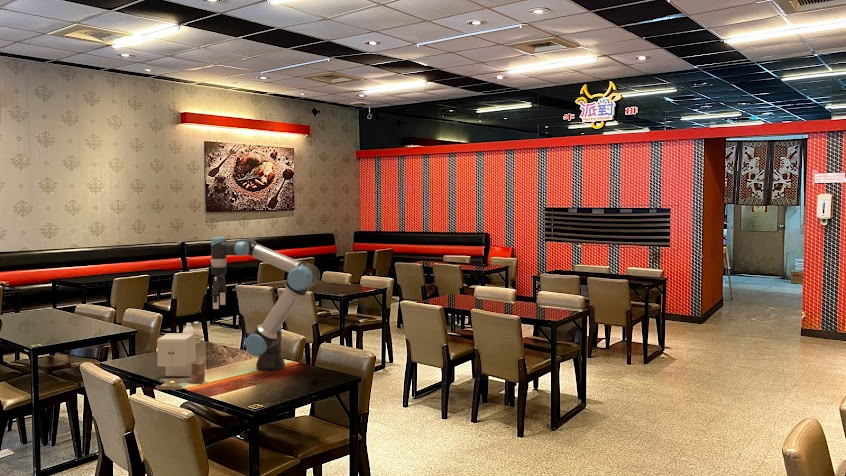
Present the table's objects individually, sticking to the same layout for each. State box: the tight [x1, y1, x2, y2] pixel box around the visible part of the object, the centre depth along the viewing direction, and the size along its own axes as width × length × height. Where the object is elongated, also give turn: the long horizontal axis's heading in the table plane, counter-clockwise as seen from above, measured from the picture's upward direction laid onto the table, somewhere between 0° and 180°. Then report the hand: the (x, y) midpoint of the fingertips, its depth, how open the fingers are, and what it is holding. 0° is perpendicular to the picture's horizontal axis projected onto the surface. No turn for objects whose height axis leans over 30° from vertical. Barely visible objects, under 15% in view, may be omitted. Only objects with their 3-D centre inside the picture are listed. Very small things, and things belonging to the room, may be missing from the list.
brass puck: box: [166, 378, 179, 386], centre depth 318 cm, size 6×6×2 cm
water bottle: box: [182, 321, 199, 361], centre depth 351 cm, size 9×6×25 cm
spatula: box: [158, 360, 206, 385], centre depth 324 cm, size 21×5×10 cm, turn 92°
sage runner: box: [155, 377, 191, 391], centre depth 322 cm, size 12×20×2 cm, turn 2°
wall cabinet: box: [156, 332, 194, 377], centre depth 330 cm, size 14×14×22 cm
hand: (219, 306), depth 344 cm, fingers open, 13 cm apart
